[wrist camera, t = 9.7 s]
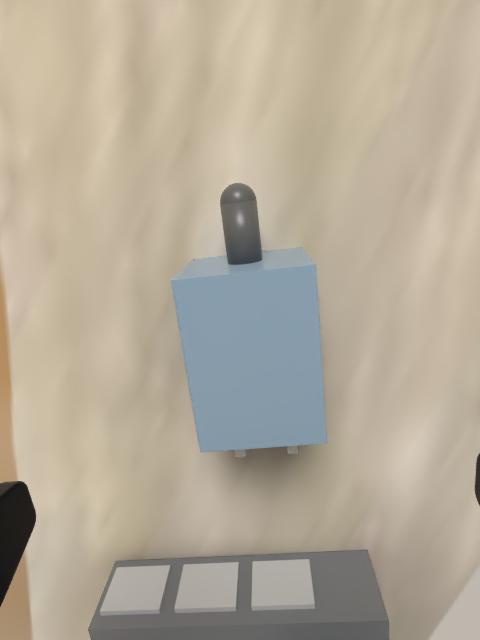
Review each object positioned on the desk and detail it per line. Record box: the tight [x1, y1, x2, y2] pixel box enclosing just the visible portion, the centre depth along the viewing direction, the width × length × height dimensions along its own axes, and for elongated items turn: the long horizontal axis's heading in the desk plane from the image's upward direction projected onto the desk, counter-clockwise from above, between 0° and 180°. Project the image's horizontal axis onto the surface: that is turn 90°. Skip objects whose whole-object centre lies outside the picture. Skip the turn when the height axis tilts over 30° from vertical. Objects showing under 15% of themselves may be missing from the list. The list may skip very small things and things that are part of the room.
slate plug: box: [171, 183, 327, 458], centre depth 17 cm, size 12×5×5 cm, turn 7°
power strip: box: [88, 550, 389, 640], centre depth 22 cm, size 4×15×5 cm, turn 97°
